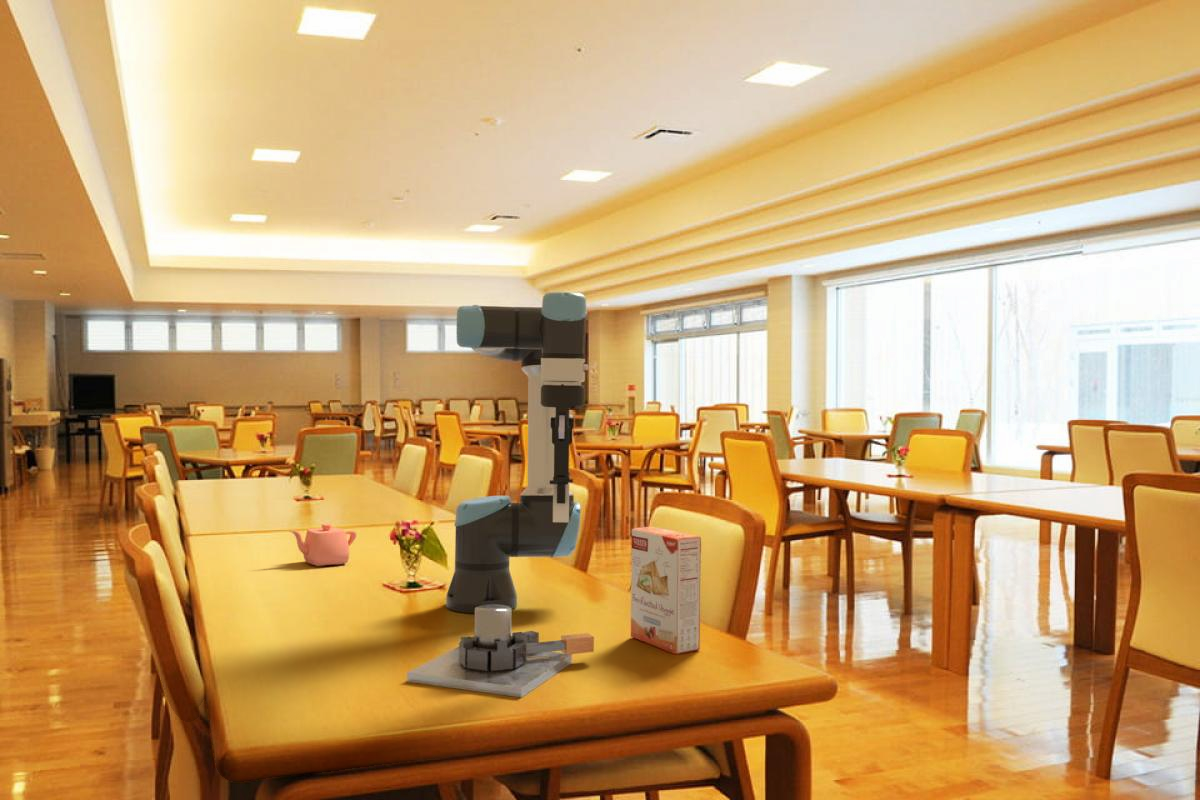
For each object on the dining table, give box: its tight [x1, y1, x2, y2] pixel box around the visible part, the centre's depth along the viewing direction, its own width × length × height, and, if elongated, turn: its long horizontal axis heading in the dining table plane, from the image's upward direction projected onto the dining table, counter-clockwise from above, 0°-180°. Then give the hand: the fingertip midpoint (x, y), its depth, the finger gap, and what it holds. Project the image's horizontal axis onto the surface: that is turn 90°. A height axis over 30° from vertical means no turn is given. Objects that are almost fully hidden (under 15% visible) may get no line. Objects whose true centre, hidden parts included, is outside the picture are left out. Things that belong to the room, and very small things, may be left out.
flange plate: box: [406, 604, 573, 698], centre depth 158 cm, size 20×20×10 cm
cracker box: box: [630, 526, 702, 655], centre depth 176 cm, size 14×6×21 cm, turn 34°
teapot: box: [289, 523, 358, 567], centre depth 252 cm, size 12×18×10 cm, turn 124°
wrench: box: [458, 631, 595, 671], centre depth 160 cm, size 23×10×4 cm, turn 113°
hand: (560, 521), depth 164 cm, fingers closed
